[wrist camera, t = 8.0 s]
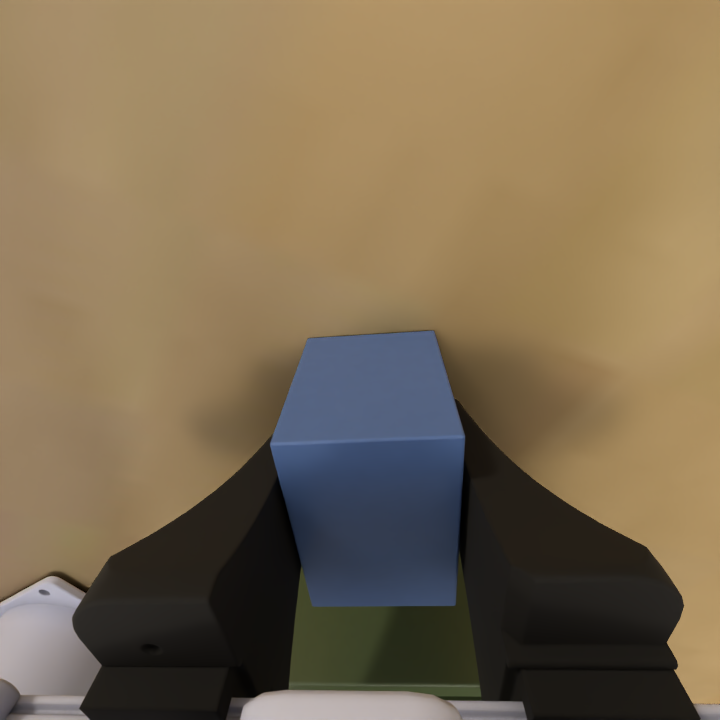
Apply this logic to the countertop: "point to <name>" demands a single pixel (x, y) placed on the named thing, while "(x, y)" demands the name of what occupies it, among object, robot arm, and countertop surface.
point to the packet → (373, 470)
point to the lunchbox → (385, 648)
